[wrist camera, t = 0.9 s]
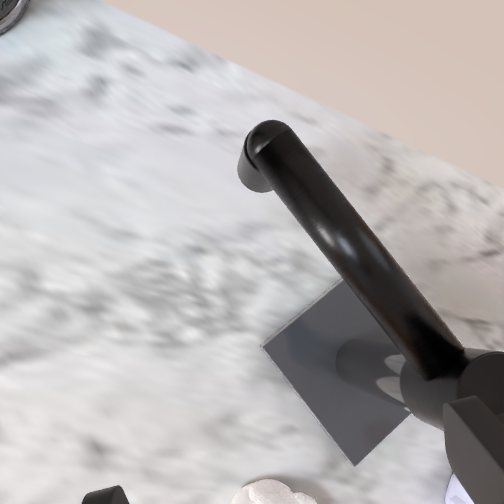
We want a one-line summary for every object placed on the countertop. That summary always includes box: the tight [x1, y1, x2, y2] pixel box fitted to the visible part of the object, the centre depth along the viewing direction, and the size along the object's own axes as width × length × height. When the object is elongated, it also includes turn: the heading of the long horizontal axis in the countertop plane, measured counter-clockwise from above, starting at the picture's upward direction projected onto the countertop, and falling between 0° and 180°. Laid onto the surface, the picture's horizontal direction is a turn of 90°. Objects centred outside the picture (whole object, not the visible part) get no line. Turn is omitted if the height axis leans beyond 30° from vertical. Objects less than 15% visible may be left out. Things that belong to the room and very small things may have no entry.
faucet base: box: [260, 278, 411, 466], centre depth 28 cm, size 11×10×12 cm
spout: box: [237, 120, 504, 431], centre depth 20 cm, size 18×4×6 cm, turn 38°
